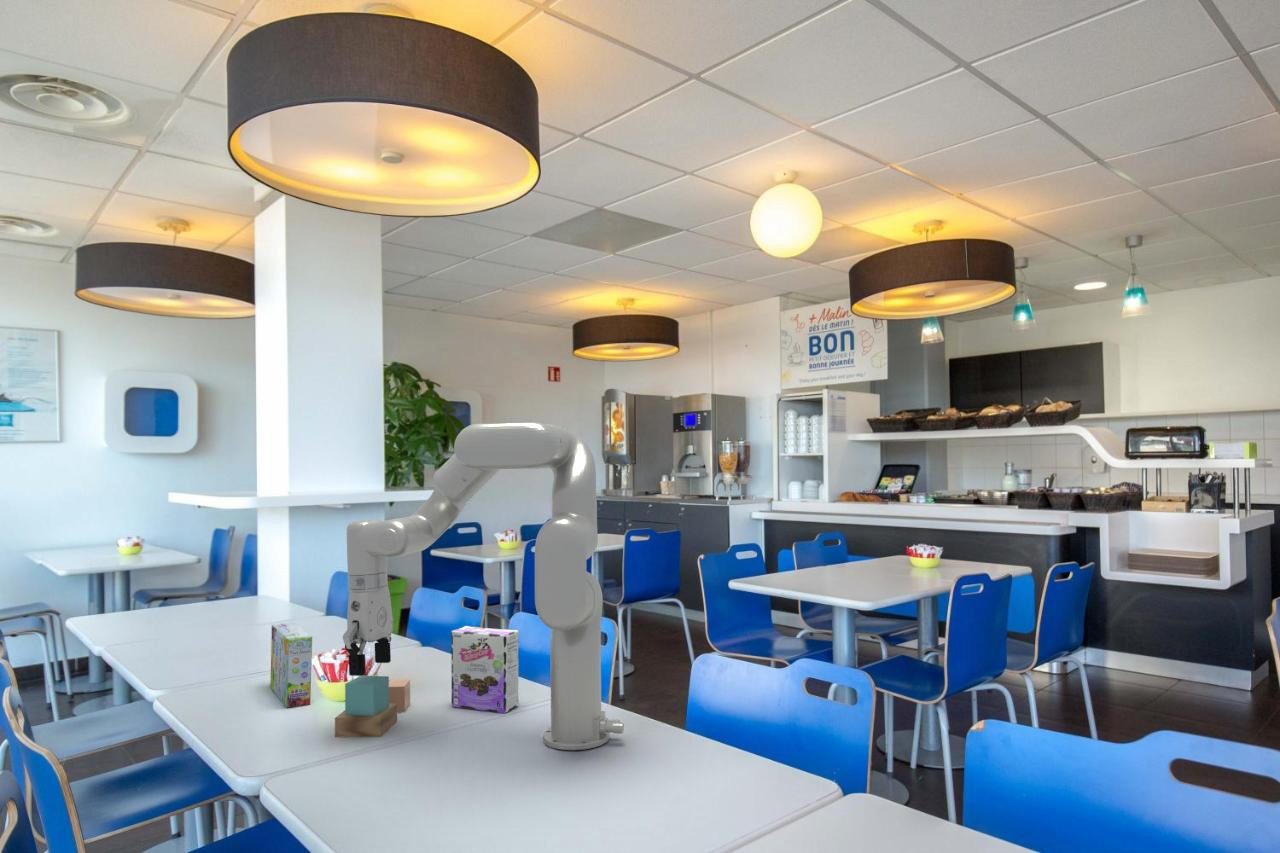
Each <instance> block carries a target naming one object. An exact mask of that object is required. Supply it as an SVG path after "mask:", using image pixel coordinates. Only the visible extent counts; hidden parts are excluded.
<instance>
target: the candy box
mask: <svg viewBox="0 0 1280 853" xmlns="http://www.w3.org/2000/svg"><path fill="white" fill-rule="evenodd" d="M518 705H519V630H518V629H503V628H502V629H501V628H500V629H499V628H488V627H487V628H486V627H477V626H469V625H465V626H463V627H459V628H457V629H453V630H451V707H453V708H457V709H458V708H460V709H467V710H477V711H484V712H494V713H499V714H506V712H507V713H508V711H509V712H510V710H511V711H512V709H513V710H515V709H516V708H518V707H519V706H518ZM517 706H518V707H517ZM515 707H516V708H515ZM514 708H515V709H514Z"/></svg>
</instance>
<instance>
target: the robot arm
mask: <svg viewBox="0 0 1280 853" xmlns="http://www.w3.org/2000/svg"><path fill="white" fill-rule="evenodd" d="M453 448H454V449H453V450H454V453H453V455H451V457H450V458H448V459H447V461H446V462H444V463H443V464H442V465H441V466H440V467H439V468H438V469H437V470H436V471H435V473H434V474H433V477H432V478H433V484H434V489H433V491H432V493H431V495H430V496H429V497H428V498H427V500H426V501H425V502H424V503H423V504H422V505H421V506H420V507H419V508H418V509H417V510H416V511H415V512H414V513H413V514H411V515H410V516H403V517H398V518H391V519H386V520H380V519H365V520H354V521H351V522H350V523H348V524H347V526H346V559H347V561H346V562H347V591H348V598H347V599H348V600H347V601H348V602H347V613H346V614H347V615H346V618H347V619H346V621H347V622H346V623H347V624H346V625H347V626H346V628H347V630H346V631H345V632H344V634H343V635H342V641H343V643H344V648H345V650H346V655H347V656H348V675H349V676H351V677H354V676H355V677H356V676H358V677H360V676H366V670H367V669H366V653H364V651H365V648H366V644H367V642H368V643H374V642H375V643H374V662H375V663H376V664H389V663H391V661H392V660H391V657H392V655H391V642H392V637H391V635H392V633H393V631H394V617H393V610H392V609H393V607H392V600H391V594H390V589H389V585H388V583H389V581H388V579H389V578H388V558H400V557H405V556H408V555H411V554H416V553H420V552H423V551H424V550H426V549H428V548H429V547H430V546H432V545H433V544H434V543H435V542H436V541H437V540H438V539H439V538H440V537H441V536H442V535H443V534H444V533H445V532H446V531H447V530H448V529H449V528H450V527H451V526H452V525H453V524H454V523H455V521H456V520H457V518H458V517H459V515H460V514H461V512H462V511H463V510H464V508H465V505H467V502H469V501H470V500H471V499H472V498H473V497H474V496H475V495H476V494H477V493H478V492H479V490H481V489H482V488H483V487H484V486H485V485H486V484H487V483H488V482H489V481H490V480H491V479H492V478H493V477H494V476H495V475H496V474H497V473H498V472H499V471H500V470H514V469H515V470H516V469H518V470H521V469H523V470H524V469H525V470H526V469H528V470H529V469H530V470H532V469H533V470H536V469H537V470H539V469H549V470H552V473H553V483H552V489H551V500H552V501H551V502H552V504H551V507H552V508H551V519H549V520H547V521H546V522H545V523H544V524H543V525H542V526H541V528H540V529H539V531H538V533H537V536H536V539H535V540H536V541H535V546H534V604H535V609H536V612H537V616H538V617H539V619H540V621H541V622H542V623H543V624H544V625H545V626H546V627H547V628H549V629H550V631H551V632H550V651H549V653H550V654H549V655H550V656H549V657H550V658H549V659H550V662H549V663H550V669H549V670H550V728H547V729H546V730H545V731H544V732H543V734H542V742H543V744H544V745H547V747H549V748H553V749H556V750H563V751H581V750H583V751H584V750H589V749H590V750H591V749H593V748H597V747H600V746H603V745H604V744H607V742H608V741H609V740H610V738H611V734H616V735H617V734H624V728H625V726H624V725H625V724H624V722H621V720H620V719H609V718H608V717H606V711H605V710H602V674H601V673H602V671H601V670H602V663H601V655H602V653H601V649H602V647H601V646H602V644H601V643H602V642H601V637H602V636H601V634H602V633H601V631H602V618H603V617H602V615H603V605H604V602H603V598H604V597H603V591H602V588H601V585H600V582H599V581H598V579H597V578H596V577H595V576H594V575H593V574H592V573H590V572H589V571H587V560H589V559H590V558H591V557H592V556H593V555H594V553H595V552H596V550H597V547H598V542H599V538H598V500H597V471H596V468H597V467H596V462H595V458H594V455H593V452H592V450H591V448H590V447H589V445H588V444H587V442H585V440H584V439H583V438H582V437H580V436H579V435H577V433H576V432H573V431H572V430H569V429H567V428H565V427H563V426H560V425H557V424H551V423H543V422H513V423H512V422H510V423H473V424H470V425H468V426H466V427H464V428H463V429H462V430H460V432H459V433H458V434H457V435H456V438H455V440H454V445H453ZM357 644H358V645H357Z"/></svg>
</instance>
